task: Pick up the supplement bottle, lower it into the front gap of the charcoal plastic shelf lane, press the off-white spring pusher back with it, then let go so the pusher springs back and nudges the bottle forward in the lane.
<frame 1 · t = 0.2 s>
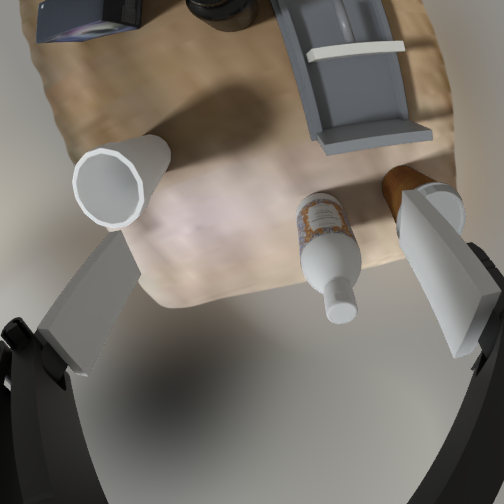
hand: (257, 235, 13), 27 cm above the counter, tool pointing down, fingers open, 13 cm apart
shelf lane: (331, 11, 25), on the counter
supplement bottle: (231, 10, 27), on the counter
disposable coffee cup: (400, 185, 38), on the counter
small box: (110, 18, 26), on the counter
foam cup: (151, 154, 39), on the counter
bath foam: (319, 212, 42), on the counter
pusher: (346, 27, 23), point 5 cm above the counter, slide at 3.0 cm
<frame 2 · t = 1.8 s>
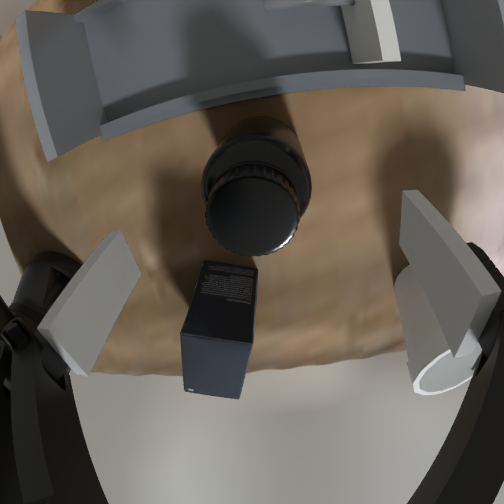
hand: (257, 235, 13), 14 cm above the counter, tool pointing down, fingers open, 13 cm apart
shelf lane: (269, 16, 17), on the counter
supplement bottle: (261, 153, 24), on the counter
small box: (227, 297, 34), on the counter
foam cup: (416, 279, 31), on the counter
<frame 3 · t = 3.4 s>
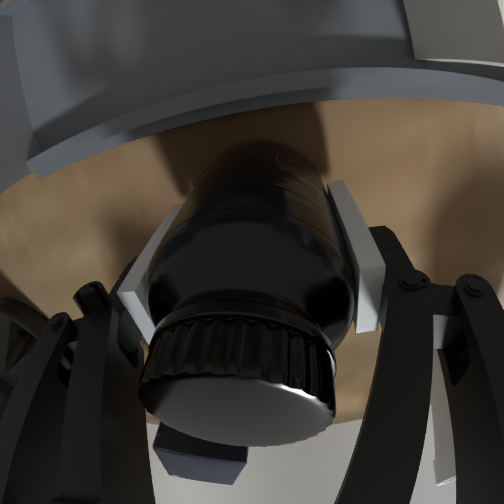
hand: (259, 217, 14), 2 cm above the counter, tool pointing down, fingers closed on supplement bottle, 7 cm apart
supplement bottle: (262, 198, 16), on the counter, touching gripper
small box: (218, 368, 26), on the counter
foam cup: (451, 345, 22), on the counter
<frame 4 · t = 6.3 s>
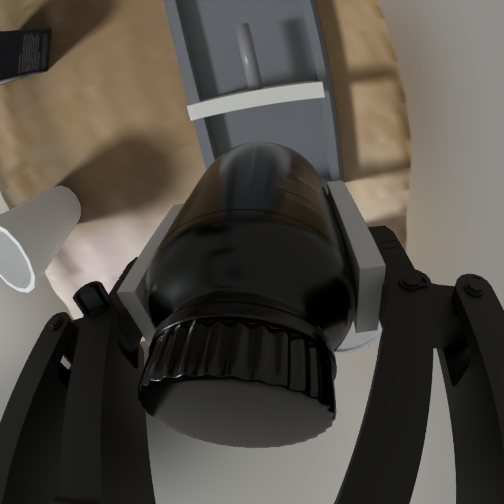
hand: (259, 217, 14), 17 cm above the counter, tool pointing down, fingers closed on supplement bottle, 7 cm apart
shelf lane: (247, 36, 22), on the counter
supplement bottle: (262, 199, 16), point 15 cm above the counter, touching gripper
disposable coffee cup: (329, 252, 35), on the counter
small box: (25, 57, 22), on the counter
foam cup: (65, 205, 34), on the counter
pusher: (250, 62, 20), point 5 cm above the counter, slide at 3.0 cm
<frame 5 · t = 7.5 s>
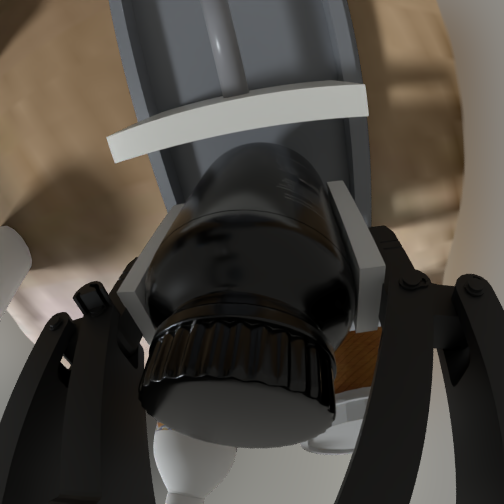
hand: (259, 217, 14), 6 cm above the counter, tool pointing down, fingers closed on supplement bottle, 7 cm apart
shelf lane: (227, 10, 13), on the counter
supplement bottle: (262, 199, 16), point 4 cm above the counter, touching gripper
disposable coffee cup: (342, 317, 26), on the counter
foam cup: (14, 248, 25), on the counter
bath foam: (215, 340, 29), on the counter
pusher: (225, 48, 11), point 5 cm above the counter, slide at 3.0 cm
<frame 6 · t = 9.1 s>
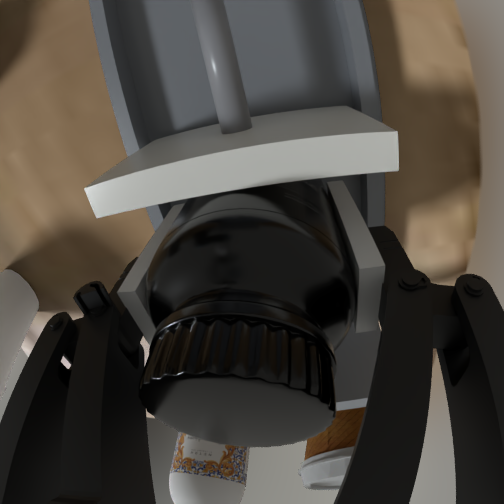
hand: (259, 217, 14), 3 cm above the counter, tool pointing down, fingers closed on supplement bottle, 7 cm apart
shelf lane: (237, 66, 13), on the counter
supplement bottle: (262, 199, 16), point 1 cm above the counter, touching gripper, pusher
disposable coffee cup: (346, 364, 26), on the counter
foam cup: (20, 289, 25), on the counter
bath foam: (223, 382, 30), on the counter
pusher: (223, 71, 9), point 5 cm above the counter, slide at 5.8 cm, touching supplement bottle
when the fingers open (3 cm above the counter, at t = 9.2 s): supplement bottle moves 3 cm, resting on pusher, shelf lane.
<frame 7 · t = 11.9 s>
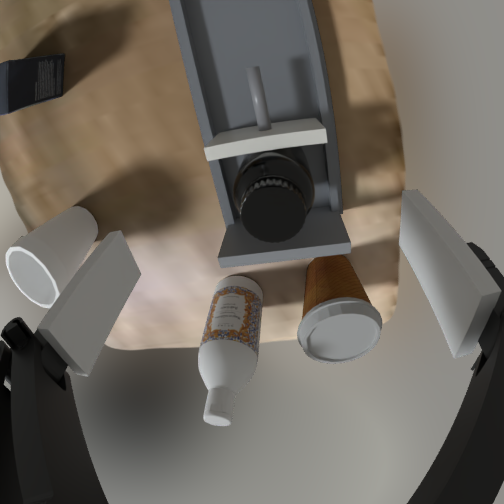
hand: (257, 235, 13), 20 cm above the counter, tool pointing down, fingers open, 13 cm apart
shelf lane: (257, 74, 26), on the counter
supplement bottle: (275, 164, 31), point 1 cm above the counter, touching pusher, shelf lane
disposable coffee cup: (329, 271, 39), on the counter
small box: (38, 80, 25), on the counter
foam cup: (81, 224, 38), on the counter
bath foam: (239, 291, 42), on the counter
pusher: (260, 104, 23), point 5 cm above the counter, slide at 3.2 cm, touching supplement bottle
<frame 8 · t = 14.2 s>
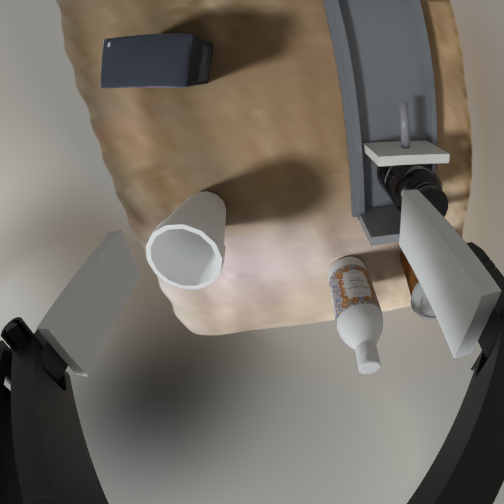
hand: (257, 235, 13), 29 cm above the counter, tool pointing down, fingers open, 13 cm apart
shelf lane: (390, 101, 32), on the counter
supplement bottle: (395, 170, 37), point 1 cm above the counter, touching shelf lane
disposable coffee cup: (415, 252, 46), on the counter
small box: (173, 62, 32), on the counter
foam cup: (206, 209, 45), on the counter
bath foam: (346, 270, 49), on the counter
pusher: (404, 129, 30), point 5 cm above the counter, slide at 3.0 cm
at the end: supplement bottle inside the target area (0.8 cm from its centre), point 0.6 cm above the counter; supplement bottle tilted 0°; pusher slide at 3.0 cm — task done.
